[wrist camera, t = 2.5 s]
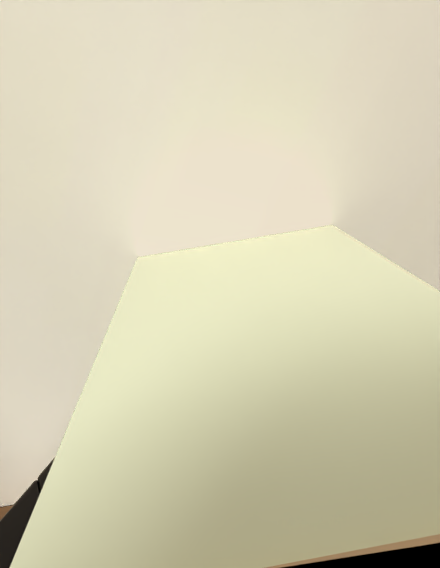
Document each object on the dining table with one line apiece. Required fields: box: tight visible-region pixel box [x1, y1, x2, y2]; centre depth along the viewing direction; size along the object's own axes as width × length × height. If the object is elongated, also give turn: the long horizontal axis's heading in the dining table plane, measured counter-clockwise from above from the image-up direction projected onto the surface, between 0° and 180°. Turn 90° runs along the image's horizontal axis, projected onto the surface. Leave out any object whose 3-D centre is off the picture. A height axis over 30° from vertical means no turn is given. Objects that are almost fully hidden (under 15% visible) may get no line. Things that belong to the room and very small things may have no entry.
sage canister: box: [10, 225, 440, 568], centre depth 6 cm, size 6×6×8 cm
